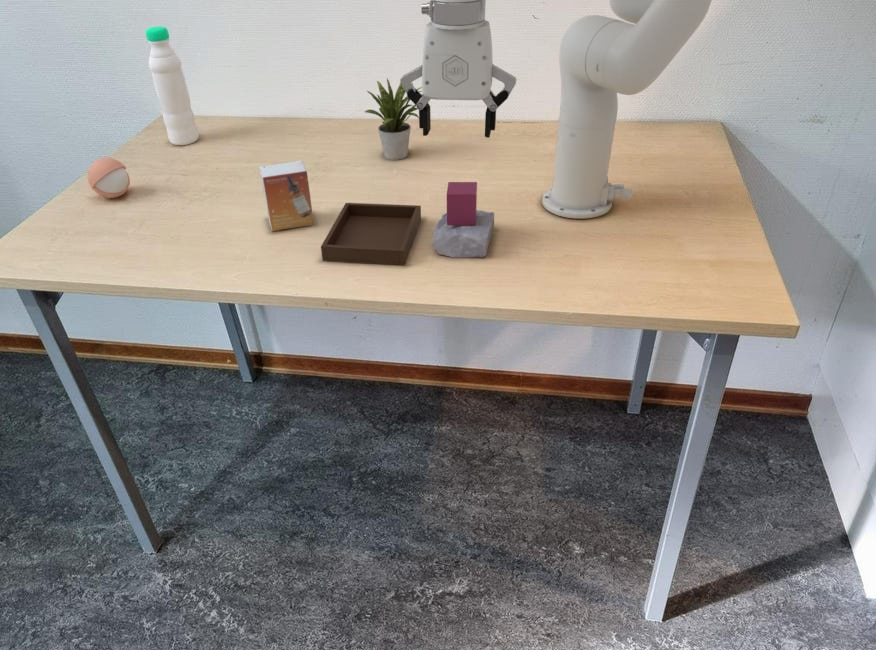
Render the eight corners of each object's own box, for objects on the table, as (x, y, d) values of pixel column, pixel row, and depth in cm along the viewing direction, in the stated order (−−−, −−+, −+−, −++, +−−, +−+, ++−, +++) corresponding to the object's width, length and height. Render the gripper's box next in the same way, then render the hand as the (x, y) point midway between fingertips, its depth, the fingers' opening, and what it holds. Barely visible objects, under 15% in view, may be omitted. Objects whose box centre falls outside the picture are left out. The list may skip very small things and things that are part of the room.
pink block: (476, 212, 114) (477, 181, 111) (475, 225, 110) (476, 194, 107) (448, 212, 115) (448, 181, 111) (446, 225, 111) (446, 194, 107)
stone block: (432, 265, 112) (491, 258, 109) (426, 239, 109) (486, 232, 106) (444, 234, 121) (498, 227, 118) (438, 210, 119) (493, 202, 115)
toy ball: (111, 207, 133) (97, 169, 128) (87, 199, 136) (73, 162, 131) (142, 192, 138) (131, 155, 133) (118, 185, 141) (106, 148, 136)
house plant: (424, 171, 139) (422, 90, 129) (360, 170, 141) (352, 90, 131) (432, 145, 150) (431, 69, 139) (372, 145, 152) (367, 70, 142)
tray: (421, 219, 122) (420, 205, 120) (404, 265, 109) (403, 250, 107) (347, 216, 124) (345, 202, 122) (322, 261, 112) (320, 246, 110)
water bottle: (169, 138, 162) (139, 26, 147) (198, 133, 164) (171, 22, 148) (170, 148, 157) (138, 33, 141) (200, 143, 158) (172, 29, 143)
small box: (271, 232, 121) (261, 177, 114) (268, 219, 125) (257, 165, 118) (314, 225, 122) (307, 170, 115) (310, 212, 126) (302, 159, 120)
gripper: (392, 18, 92) (398, 140, 102) (519, 18, 88) (511, 144, 99) (403, 7, 97) (407, 124, 108) (522, 6, 94) (514, 126, 105)
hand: (457, 133), depth 104 cm, fingers open, 9 cm apart
